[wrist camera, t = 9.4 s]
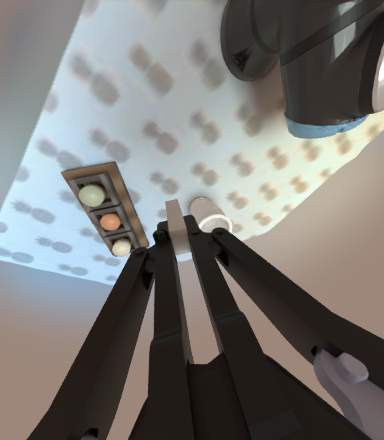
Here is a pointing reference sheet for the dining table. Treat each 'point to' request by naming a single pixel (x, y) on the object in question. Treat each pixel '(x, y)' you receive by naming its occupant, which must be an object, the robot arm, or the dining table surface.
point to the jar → (209, 215)
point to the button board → (109, 203)
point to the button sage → (92, 195)
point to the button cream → (121, 247)
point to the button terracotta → (110, 221)
